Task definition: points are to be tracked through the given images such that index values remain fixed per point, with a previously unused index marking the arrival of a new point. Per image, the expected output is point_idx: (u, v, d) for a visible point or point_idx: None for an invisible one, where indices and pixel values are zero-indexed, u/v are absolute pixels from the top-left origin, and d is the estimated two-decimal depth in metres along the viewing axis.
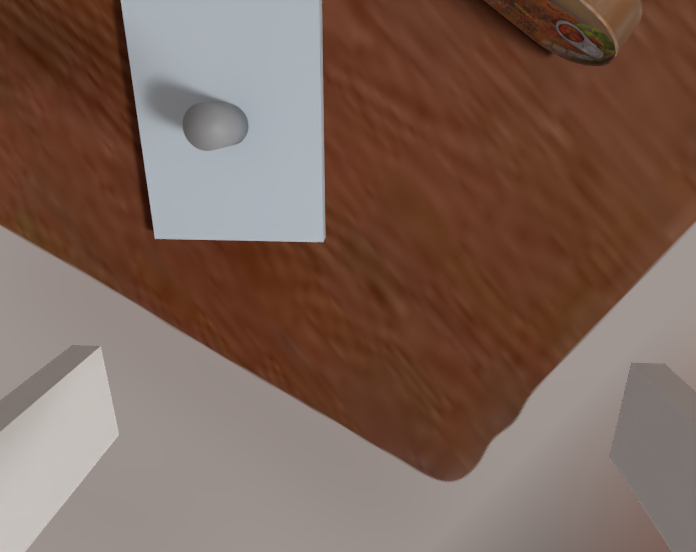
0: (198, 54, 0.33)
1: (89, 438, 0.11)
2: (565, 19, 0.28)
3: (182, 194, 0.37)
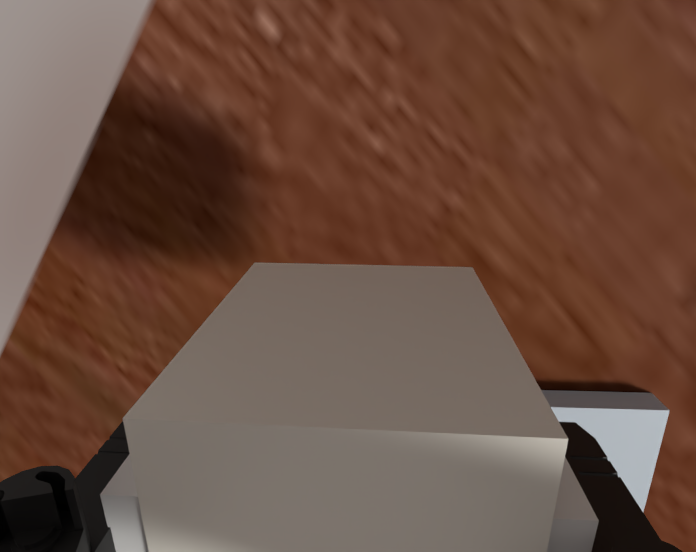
0: None
1: None
2: None
3: None
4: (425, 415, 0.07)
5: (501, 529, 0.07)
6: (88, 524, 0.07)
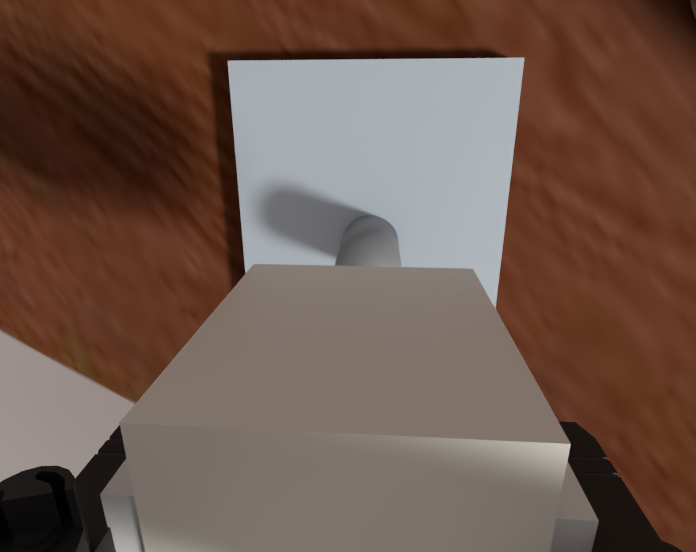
0: (335, 151, 0.24)
1: None
2: None
3: None
4: (426, 419, 0.06)
5: (502, 535, 0.07)
6: (88, 524, 0.07)
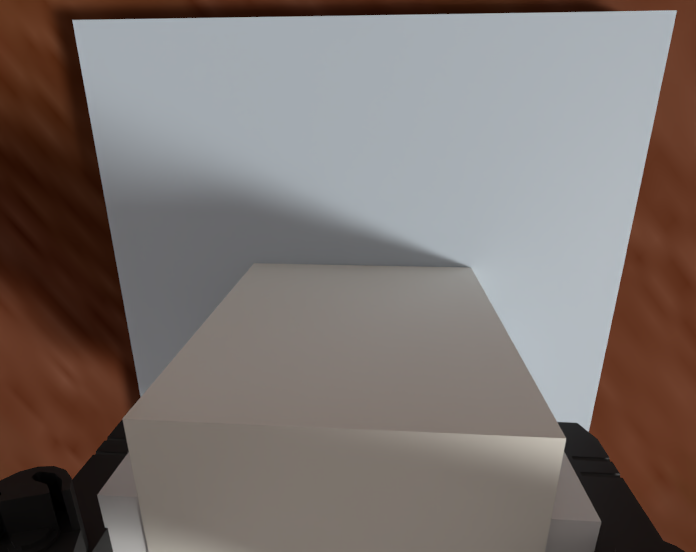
0: (292, 196, 0.12)
1: None
2: None
3: None
4: (423, 415, 0.07)
5: (499, 529, 0.07)
6: (85, 524, 0.07)
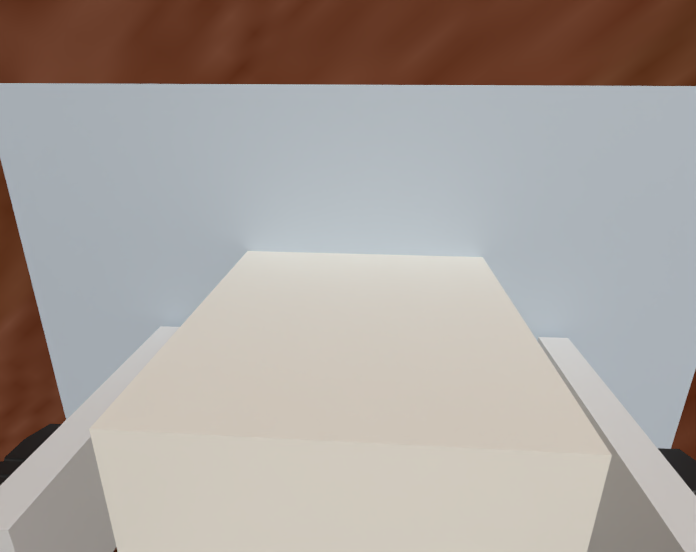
0: None
1: None
2: None
3: None
4: None
5: (227, 481, 0.06)
6: None
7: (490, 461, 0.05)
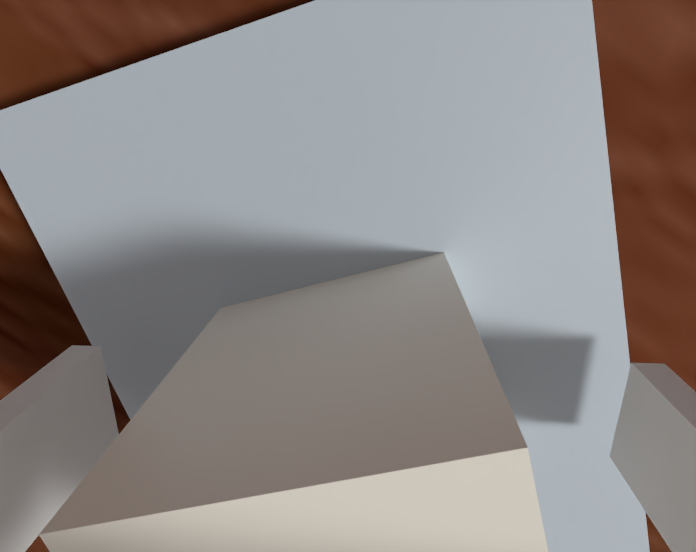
0: (237, 230, 0.12)
1: (89, 438, 0.11)
2: None
3: None
4: (362, 454, 0.06)
5: None
6: None
7: None
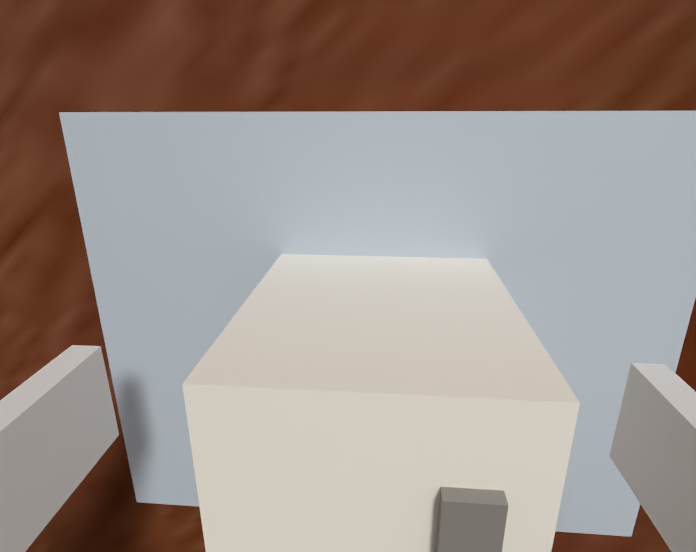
0: None
1: (89, 438, 0.11)
2: None
3: None
4: None
5: (285, 426, 0.07)
6: None
7: (487, 408, 0.07)
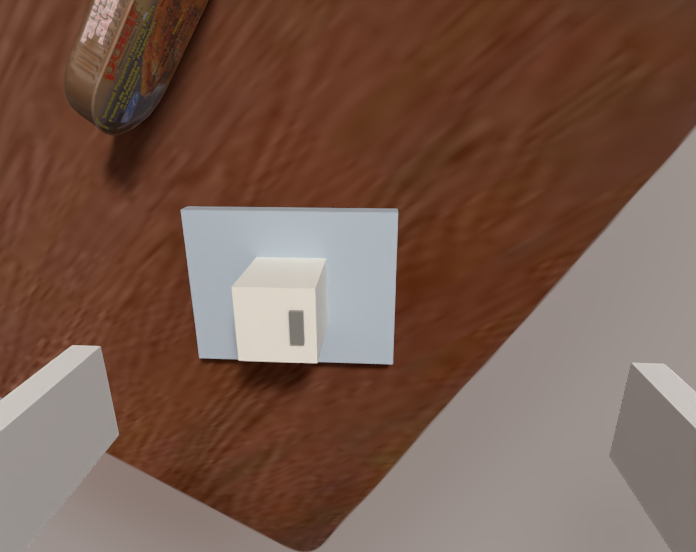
0: None
1: (89, 438, 0.11)
2: None
3: (352, 335, 0.42)
4: None
5: (254, 296, 0.33)
6: None
7: (297, 290, 0.33)
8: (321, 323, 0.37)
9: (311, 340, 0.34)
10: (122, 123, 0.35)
